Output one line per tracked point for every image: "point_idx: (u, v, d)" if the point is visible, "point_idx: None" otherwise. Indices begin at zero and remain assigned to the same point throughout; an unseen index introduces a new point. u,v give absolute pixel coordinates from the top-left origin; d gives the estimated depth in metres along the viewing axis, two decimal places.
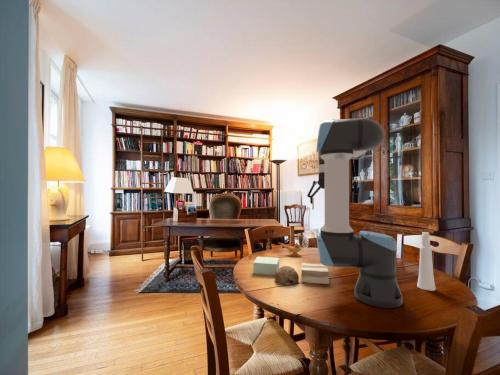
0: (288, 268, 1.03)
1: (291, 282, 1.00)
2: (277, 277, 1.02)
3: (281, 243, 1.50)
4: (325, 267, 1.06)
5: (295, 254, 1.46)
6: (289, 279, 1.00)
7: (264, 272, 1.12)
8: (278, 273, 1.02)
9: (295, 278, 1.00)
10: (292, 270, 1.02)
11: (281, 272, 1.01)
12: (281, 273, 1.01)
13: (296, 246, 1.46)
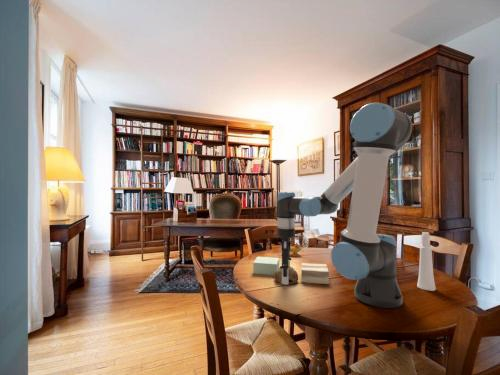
0: None
1: (290, 281, 1.00)
2: (276, 277, 1.02)
3: None
4: (325, 267, 1.06)
5: (295, 254, 1.46)
6: None
7: (264, 272, 1.12)
8: (277, 272, 1.02)
9: (295, 278, 1.01)
10: (291, 269, 1.02)
11: (280, 271, 1.02)
12: (280, 272, 1.01)
13: (296, 246, 1.46)
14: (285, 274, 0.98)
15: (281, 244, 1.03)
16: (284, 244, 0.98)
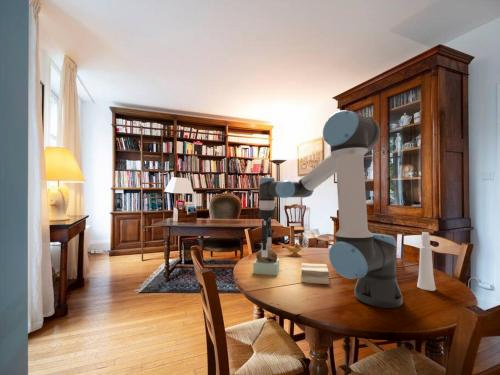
0: (268, 248, 1.16)
1: (270, 260, 1.13)
2: (257, 257, 1.15)
3: (281, 243, 1.50)
4: (325, 267, 1.06)
5: (295, 254, 1.46)
6: (268, 258, 1.13)
7: (264, 272, 1.12)
8: (259, 253, 1.15)
9: (274, 257, 1.14)
10: (271, 250, 1.15)
11: (261, 252, 1.15)
12: (261, 252, 1.14)
13: (296, 246, 1.46)
14: (264, 248, 1.09)
15: None
16: (264, 221, 1.11)
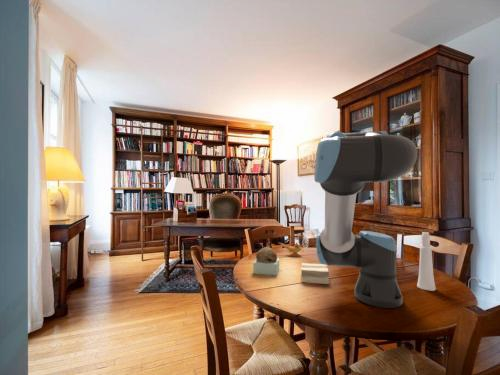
0: (267, 248, 1.16)
1: (270, 260, 1.13)
2: (257, 257, 1.15)
3: (281, 243, 1.50)
4: (325, 267, 1.06)
5: (295, 254, 1.46)
6: (268, 258, 1.13)
7: (264, 272, 1.12)
8: (258, 253, 1.15)
9: (274, 257, 1.14)
10: (271, 250, 1.15)
11: (261, 252, 1.15)
12: (261, 252, 1.14)
13: (296, 246, 1.46)
14: None
15: None
16: None
